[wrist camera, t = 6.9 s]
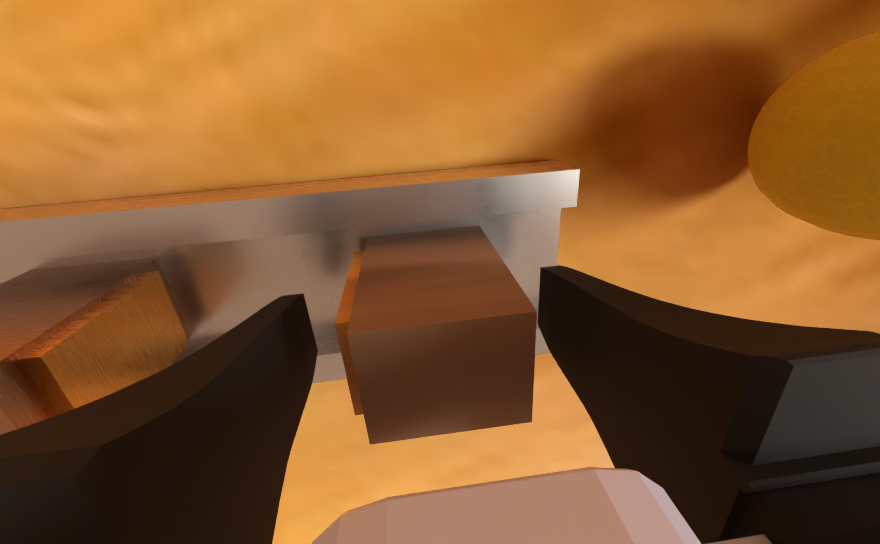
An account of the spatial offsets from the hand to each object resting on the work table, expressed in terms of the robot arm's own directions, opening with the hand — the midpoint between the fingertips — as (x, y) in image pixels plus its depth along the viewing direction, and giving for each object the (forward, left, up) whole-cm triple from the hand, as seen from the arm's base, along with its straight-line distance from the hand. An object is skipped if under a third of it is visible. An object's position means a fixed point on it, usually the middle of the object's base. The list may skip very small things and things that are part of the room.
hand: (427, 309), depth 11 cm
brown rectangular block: (0, 0, -3) cm, 3 cm away
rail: (0, +6, -3) cm, 7 cm away
